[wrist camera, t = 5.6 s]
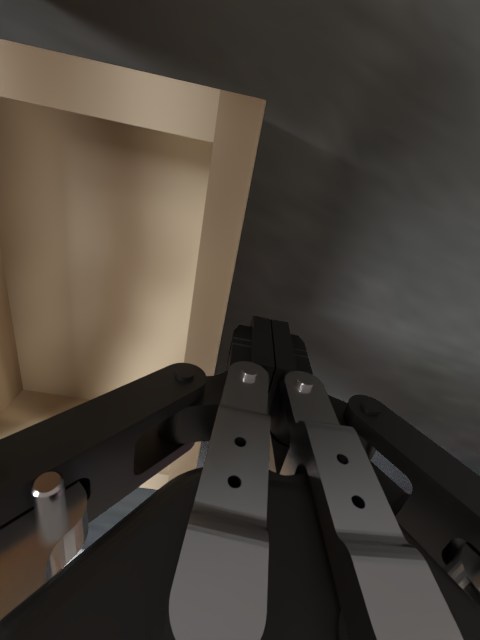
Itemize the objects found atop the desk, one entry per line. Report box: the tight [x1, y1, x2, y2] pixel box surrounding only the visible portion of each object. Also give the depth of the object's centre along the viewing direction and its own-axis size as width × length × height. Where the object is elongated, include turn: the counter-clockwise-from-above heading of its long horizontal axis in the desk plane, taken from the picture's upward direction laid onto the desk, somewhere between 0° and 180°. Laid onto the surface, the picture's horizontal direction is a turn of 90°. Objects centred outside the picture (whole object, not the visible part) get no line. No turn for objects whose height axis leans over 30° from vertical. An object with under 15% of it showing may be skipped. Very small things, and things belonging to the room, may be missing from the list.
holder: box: [0, 39, 266, 490], centre depth 14 cm, size 11×16×5 cm
